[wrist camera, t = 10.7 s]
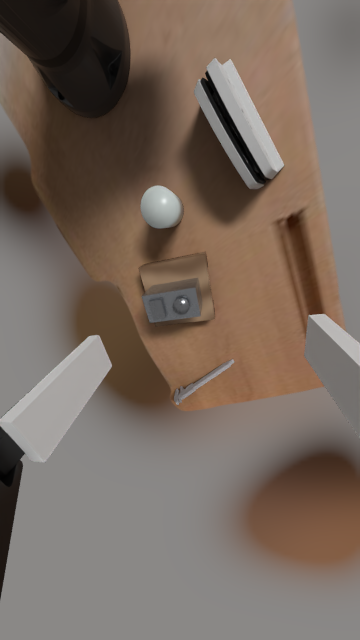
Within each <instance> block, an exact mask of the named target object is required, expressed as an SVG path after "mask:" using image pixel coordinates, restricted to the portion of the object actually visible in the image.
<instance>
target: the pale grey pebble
mask: <svg viewBox="0 0 360 640" xmlns="http://www.w3.org/2000/svg"><path fill="white" fill-rule="evenodd" d="M141 213H142V216H143V218H144V219H145V221H146V222H147V223H148V224H149V225H150V226H152V227H154V228H171V227H174V226H176V225H178V224H179V223H180V221H181V220H182V217H183V213H184V208H183V204H182V201H181V200H180V198H179V197H178V196H177V195H175V194H174V193H173V192H171V191H170V190H169V189H167V188H166V187H163V186H153V187H151V188H149V189H148V190H147V191H146V192H145V193H144V195H143V197H142V200H141Z"/></svg>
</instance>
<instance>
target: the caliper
mask: <svg viewBox="0 0 360 640" xmlns="http://www.w3.org/2000/svg"><path fill="white" fill-rule="evenodd" d="M233 363H234V360H233V359H231V360H230V361H227V362H226V363H224V364H222V365H221V366H219V367H218V368H216V369H215V370H213V371H212V372H210V373H209V374H208V375H206V376H205V377H203V378H202V379H200V380H199V381H197V382H196V383H194V384H193V383H191V384H190V385H189V386H187V387H186V389H184V388H183V387H182V386H180V394H179V390H178V389H176V391H175V395H174V401H175V402H176V404H177V405H179V402H181V403H182V399H184V398H186V397H187V396H189V395H190V394H192V393H193V392H195V390H196V389H197V388H199V387H200V386H202V385H203V384H205V383H206V382H208V381H209V380H211V379H212V378H214V377H215V376H217V375H218V374H220V373H221V372H223V371H224V370H226V369H227V368H229V367H230V366H231V364H233Z"/></svg>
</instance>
